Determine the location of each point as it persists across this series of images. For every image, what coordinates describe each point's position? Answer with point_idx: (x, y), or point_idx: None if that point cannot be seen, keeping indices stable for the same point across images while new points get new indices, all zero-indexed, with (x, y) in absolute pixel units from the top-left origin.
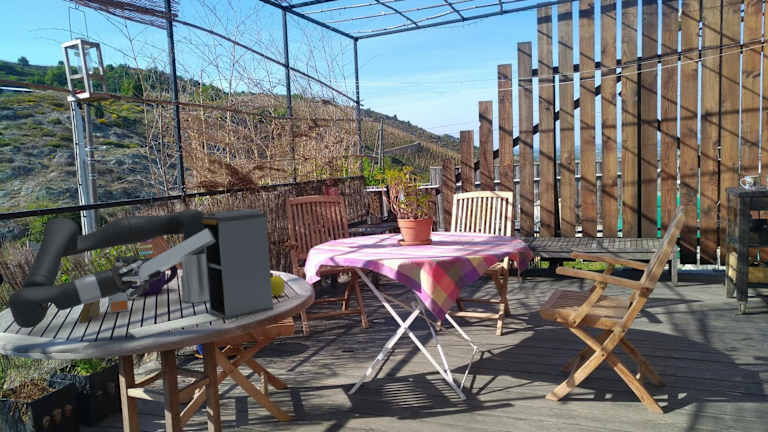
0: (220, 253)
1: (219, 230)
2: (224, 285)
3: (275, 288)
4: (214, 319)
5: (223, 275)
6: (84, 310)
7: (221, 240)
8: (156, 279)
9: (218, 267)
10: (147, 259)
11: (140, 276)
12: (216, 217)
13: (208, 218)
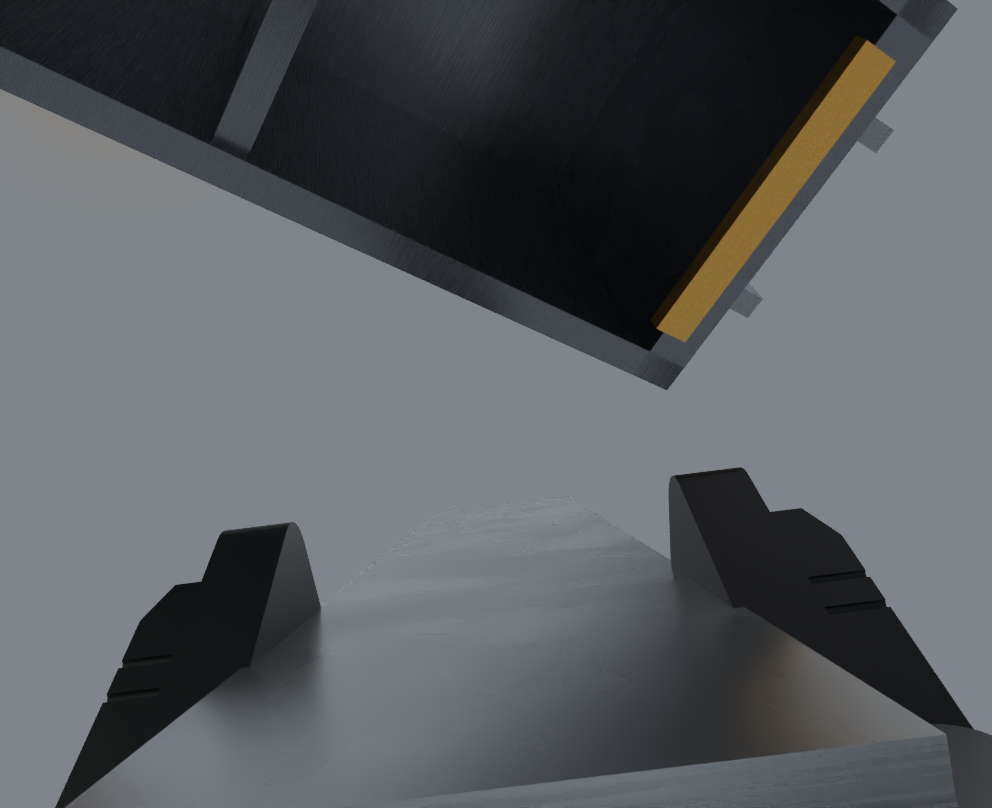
0: (387, 234)
1: (576, 345)
2: (13, 93)
3: None
4: None
5: (140, 150)
6: None
7: (490, 306)
8: (117, 677)
9: (282, 21)
10: None
11: None
12: (703, 333)
13: (812, 177)
